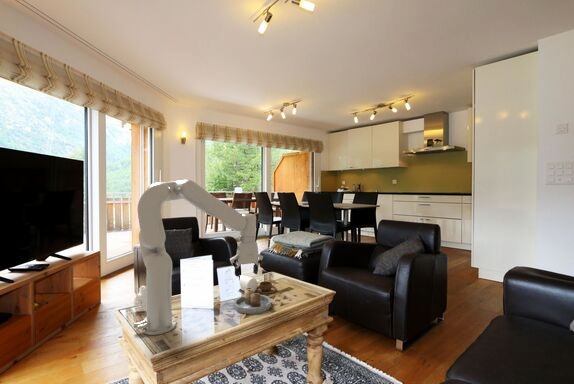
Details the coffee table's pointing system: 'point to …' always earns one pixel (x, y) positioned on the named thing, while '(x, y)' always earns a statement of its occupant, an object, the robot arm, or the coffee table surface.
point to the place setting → (265, 287)
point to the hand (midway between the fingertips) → (246, 274)
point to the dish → (246, 308)
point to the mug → (248, 282)
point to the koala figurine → (141, 299)
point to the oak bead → (248, 295)
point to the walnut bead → (255, 300)
